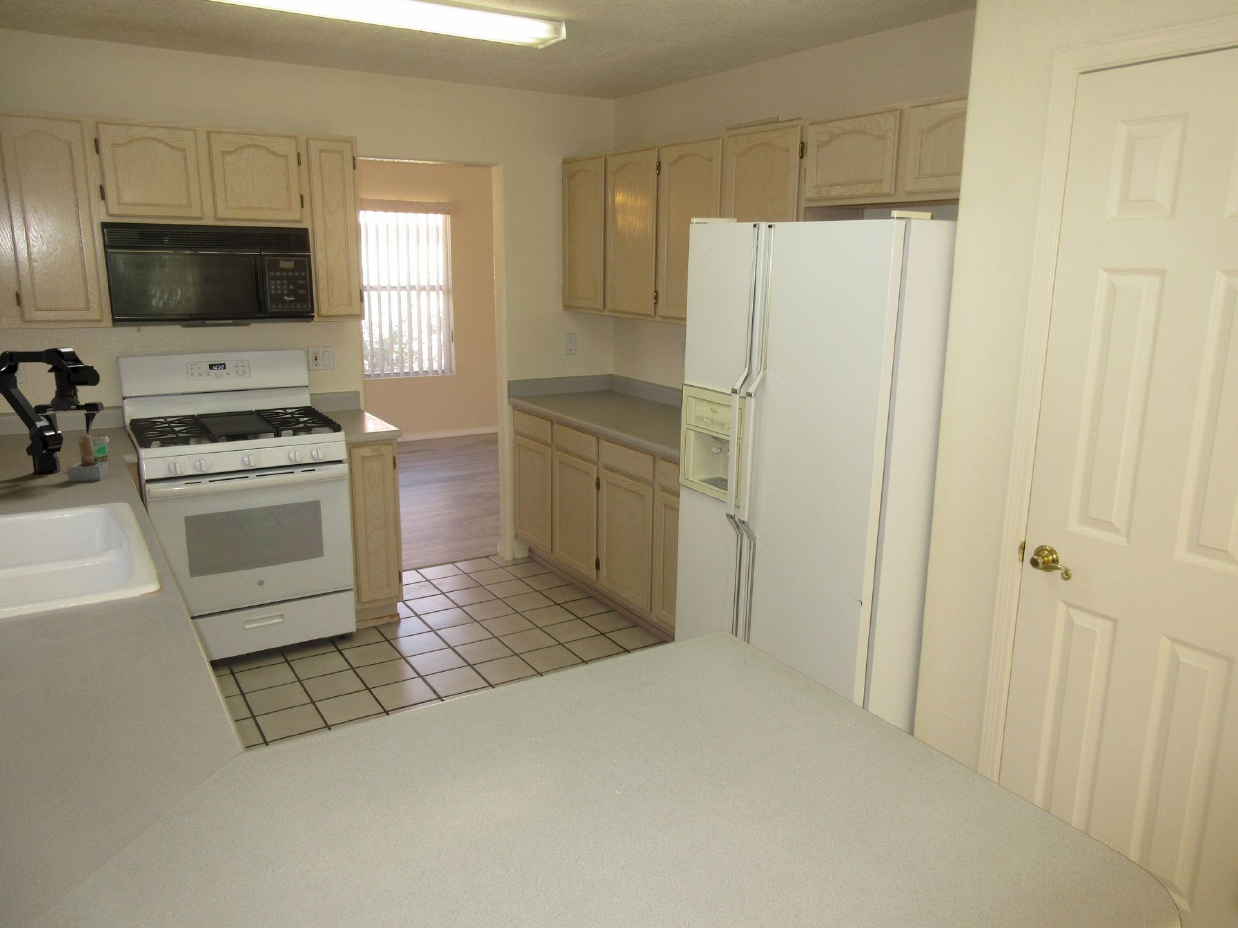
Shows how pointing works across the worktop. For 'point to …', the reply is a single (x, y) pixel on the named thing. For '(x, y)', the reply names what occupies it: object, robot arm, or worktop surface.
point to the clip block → (88, 471)
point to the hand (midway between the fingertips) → (72, 434)
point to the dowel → (86, 450)
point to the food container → (99, 448)
